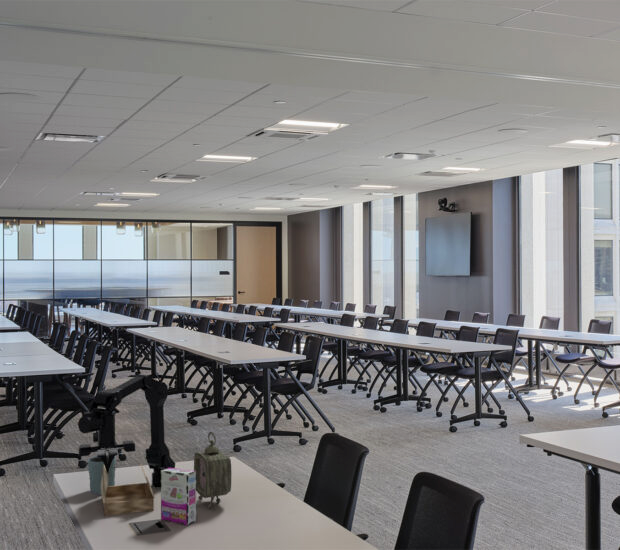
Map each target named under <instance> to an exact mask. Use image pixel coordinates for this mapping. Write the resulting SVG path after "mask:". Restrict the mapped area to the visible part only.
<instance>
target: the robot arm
mask: <svg viewBox="0 0 620 550" xmlns="http://www.w3.org/2000/svg"><path fill="white" fill-rule="evenodd" d="M139 390H141V391H143V392H144V397H145V400H146V401H147V403H148V405H149V413H150V414H149V416H150V417H149V419H150V421H149V422H150V424H149V425H150V444H149V447H148V448H145V460H146V464H148V467H149V468H148V469H149V470H152V471H153V472H151V485H152V486H153V488H154V489H156V488H157V489H158V488H159V489H160V488H161V471H162V470H164V469H167V468H176V462H175V461H174V460H173V458H171V454H170V449H169V447H168V445H167V443H166V442H165V418H164V415H165V413H164V404H165V402H166V400H167V398H168V393H169V392H168V391H169V389H168V384H166V382H164V381H160V380H157V379H155V378H153V377H151V376H150V375H147V374H141V373H140V374H137V375H135V377H132V378H131V379H128V380H127V381H125V382H124V383H121V384H119V385H118V386H115V387H113V388H108V389H103V390H99V391H98V392H97V393H96V394H95V397H94V399H93V400H92V403H91V405H90V407H89V409H88V412H86V411H85V412H82V416H81V417H80V418H79V420H78V422H77V427H78V429H79V431H80V433H82V434H83V435H84V434H88V433H92V443H97V445H96V446H95V445H94V446H91V444H90V443H89V444H79V445H78V451H77V452H78V457H86V456H87V457H88V456H90V455H91V454H92V453H96V456H97V457H101V459H102V461H103V463H104V465H105V468H106V471H107V473H108V472H109V469H110V466H111V463H112V461H113V459H114V457H116V456H118V455H119V452H118V451H119V450H121V451H122V450H123V451H124V452H126V453H131V452H133V453H134V452H136V444H135V442H134V441H133V439H132V440H123V441H121V442H122V443H119V444H117V443H116V414H119V413H120V410H119V409H118V408H117V407H118V406H119V405H120V404H121V403H122V400H123V399H125V398H126V397H128V396H130V395H131V394H134V393H135V392H138V391H139ZM96 431H97V432H96ZM106 452H107V453H106ZM106 455H108V459H107V456H106Z"/></svg>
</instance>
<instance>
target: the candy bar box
mask: <svg viewBox="0 0 620 550" xmlns="http://www.w3.org/2000/svg"><path fill="white" fill-rule="evenodd" d="M160 520H161V521H163V522H168V523H174V524H179V525H185V526H189V525H192V524H194V523H196V522H197V491H196V471H194V470H190V469H184V468H183V469H182V468H177V467H175V468H167V469H164V470H162V471H161V487H160Z"/></svg>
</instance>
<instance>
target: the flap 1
mask: <svg viewBox="0 0 620 550" xmlns="http://www.w3.org/2000/svg"><path fill="white" fill-rule="evenodd" d="M107 485H108V475H107V471H106V468H105V465H104V467H103V473H102V480H101V486H100V488H101V494H100V495H101V500H102V499H103V502H102V504H103V503H105V498H106V492H107Z"/></svg>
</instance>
